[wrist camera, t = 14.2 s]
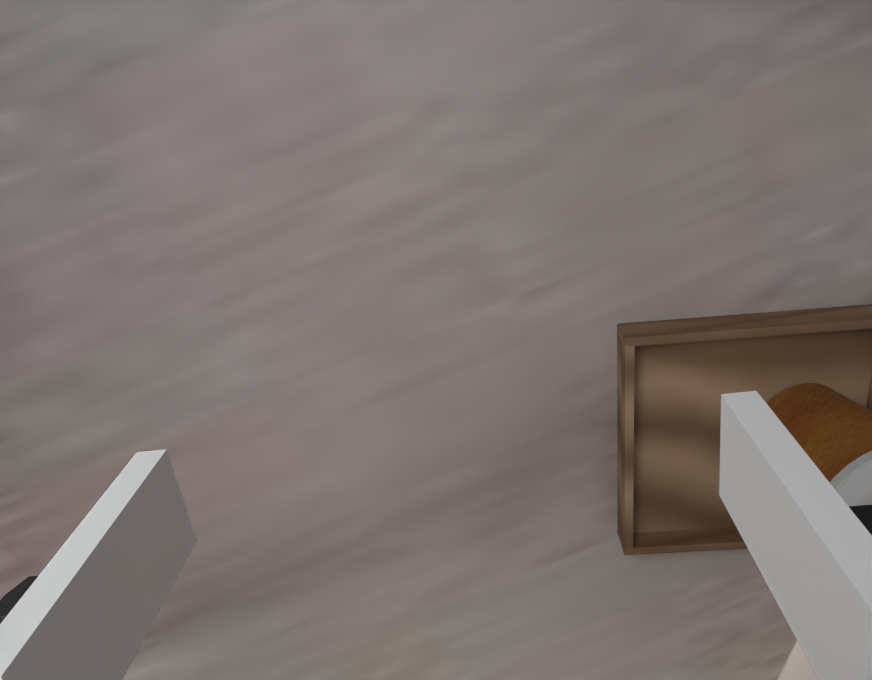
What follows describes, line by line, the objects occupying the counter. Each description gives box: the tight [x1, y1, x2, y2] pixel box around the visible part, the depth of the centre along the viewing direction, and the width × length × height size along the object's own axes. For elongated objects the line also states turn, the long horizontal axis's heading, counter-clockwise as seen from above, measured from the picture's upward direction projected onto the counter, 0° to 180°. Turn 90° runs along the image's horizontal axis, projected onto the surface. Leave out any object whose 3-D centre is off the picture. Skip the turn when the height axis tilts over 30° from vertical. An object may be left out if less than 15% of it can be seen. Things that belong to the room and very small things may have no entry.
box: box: [617, 304, 872, 555], centre depth 49 cm, size 17×17×2 cm
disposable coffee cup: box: [767, 383, 872, 506], centre depth 43 cm, size 10×10×12 cm
